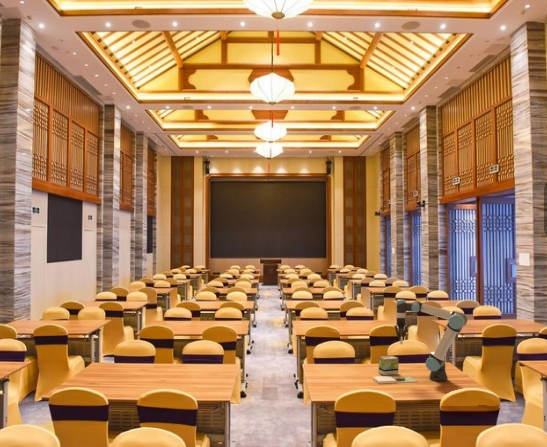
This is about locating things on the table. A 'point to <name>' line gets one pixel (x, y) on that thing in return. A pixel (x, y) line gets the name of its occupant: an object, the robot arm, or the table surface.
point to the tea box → (388, 365)
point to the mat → (407, 380)
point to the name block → (399, 378)
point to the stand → (384, 379)
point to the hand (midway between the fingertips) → (401, 344)
